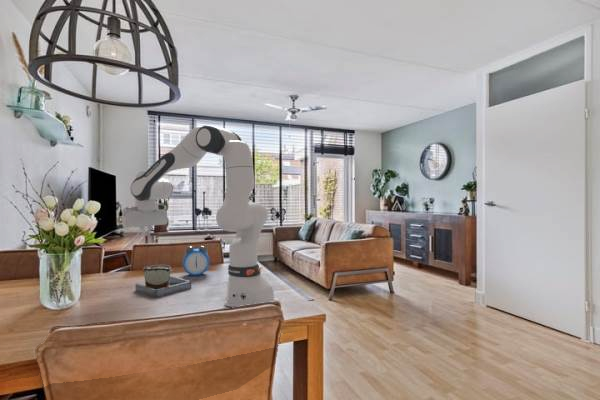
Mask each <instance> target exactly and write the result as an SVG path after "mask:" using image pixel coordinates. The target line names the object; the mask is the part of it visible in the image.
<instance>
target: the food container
mask: <svg viewBox="0 0 600 400" xmlns="http://www.w3.org/2000/svg"><path fill="white" fill-rule="evenodd" d="M171 272H172V267H171V265H168V264H152V265H146V266H143V269H142V273H143V276H144V286H147V287H150V288H153V289H160V288H164V287H168V286H170V282H169V277H170V276H171Z"/></svg>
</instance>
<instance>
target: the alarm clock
mask: <svg viewBox="0 0 600 400" xmlns="http://www.w3.org/2000/svg"><path fill="white" fill-rule="evenodd" d="M184 254H185V255H184V257H183V261H182V267H183V270H184V272H185V273H187V275H189V276H188V277H190V276H193V277H194V276H201V275H202V276H204V273H205V272H206V271H207V270H208V269H209V266H210V256H209V254H208V248H207V246H205V245H200V246H198V247H197V246H195V248H194V247H193V246H192V245H190V246H187V247H186V248H185V249H184Z"/></svg>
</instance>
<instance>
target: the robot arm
mask: <svg viewBox="0 0 600 400" xmlns="http://www.w3.org/2000/svg"><path fill="white" fill-rule="evenodd" d="M207 153H208V154H209V153H210V154H215V155H216V156H222V157H223V159H224V165H225V166H224V167H225V170H224V171H225V180H226V183H225V184H226V185H225V186H226V191H225V195H224V200H223V203H222V204H221V206H220V207H219V209H217V211H216V214H215V215H216V216H215V220H216V223H217V226H218V228H220V230H223V231H227V232H234V233H235V232H236V233H235V236H234V237H233V240H232V241H231V242H230V244H229V264H228V266H227V267H228V268H227V270H228V272H227V273H228V275H229V276H228V281H227V286H226V295H225V299H224V300H225V301H224V303H223V304H224V306H226V307H231V308H235V307H234V306H240V305H247V304H255V303H261V302H270V301H280V302H281V299H280V298H279V297H275V294H274V289H273V286H272V284H270V283H269V282H268V280H267V279H266V278H265V277H264V276H263V275H262V274H261V271H262V270H263V266H262V267H260V265H259V263H258V247H259V241H260V240H259V239H260V236H261V233H262V229H263V227H264V225H265V224H266V222H267V220H268V218H269V217H268V216H269V213H268V209H267V208H266V207H265V205H263V204H261V203H258V202H249V200H250V196H251V193H252V191H253V190H254V189H255V185H256V184H255V174H254V164H253V158H252V153H251V150H250V146H249V145H248V144H247V143H246V142H244V141H243V140H242V138H241V137H240V136H239V135H238V134H237V133H235V132H233V131H230V130H228V129H226V128H223V127H219V126H216V125H212V124H211V125H209V124H208V125H207V124H206V125H203V126H202V125H199V126H196V127H194V128H192V129H191V130H190V131H189V132H188V133H187V134H186V135H185V136H184V137H183V138H182V140H181V141H180V142H179V143H178V144H177V145H176V146H175V147H173V148H172V149H171V150H169V151H168V152H166V153H165V154H163V155H162V156H161V157H159V158H158V159H157V160H156V161H155V162H154V163H153V164H152V165H151V166H150V167H149V168H148V169H147V170H146V171H141V172H138V173H137V174H136V176H135V179H134V180H133V181H132V183H130V184H131V185H130V194H131V196H133V197H134V200H135V201H134V206H126V207H125V208H123V209H122V219H121V220H122V223H121V225H122V226H123V228H127V229H129V228H138V227H139V231H140V232H141V236H142V237H147V236H148V237H149V236H151V231H152V229H153V226H163V225H167V224H168V222H169V221H168V219H169V218H168V213H167V210H166V209H167V205H165V204H162V203H159V202H157V200H167V199H169V198H170V197H172V195H173V192H174V191H173V190H174V189H173V188H174V187H173V185H172V182H171V181H170V180H169V179H167V178H166V179H165V178H163V177H164V176H165V175H167V174H168V173H170V172H172V171H176V170H182V169H189V168H193V167H195V165H197V164H198V163H200V162H201V160H202V159H203V158H204V156H205V155H206V154H207ZM145 227H146V228H147V230H146V231H145Z"/></svg>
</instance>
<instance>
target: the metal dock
mask: <svg viewBox="0 0 600 400" xmlns="http://www.w3.org/2000/svg"><path fill="white" fill-rule="evenodd" d="M169 284H172V285H169V286H168V287H164V288H160V289H153V288H150V287H147V286H146V285H145V284H141V283H135V292H137V293H141V294H144V295H146V296H149V297H152V298H155V299H157V298H160V297H163V296H166V295H170V294H175V293H177V292H181V291H185V290H189V289H191V288H192V281H191V280H187V279H184V278H180V277H178V276H174V275H170V277H169Z"/></svg>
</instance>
